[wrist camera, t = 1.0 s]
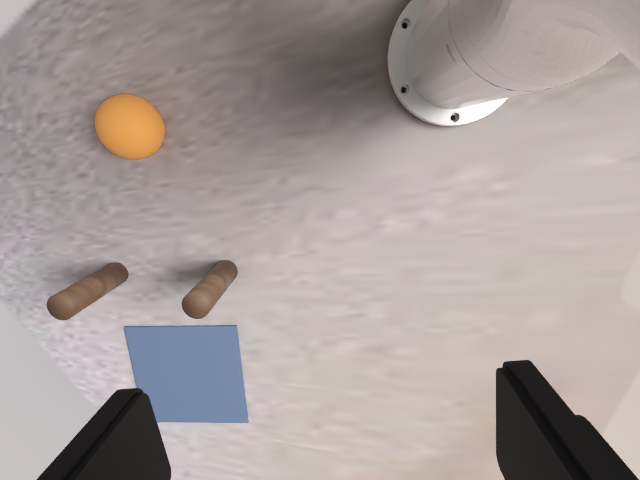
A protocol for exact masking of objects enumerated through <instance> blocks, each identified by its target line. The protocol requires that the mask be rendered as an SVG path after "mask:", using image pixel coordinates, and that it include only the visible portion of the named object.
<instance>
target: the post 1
mask: <svg viewBox="0 0 640 480" xmlns="http://www.w3.org/2000/svg"><path fill="white" fill-rule="evenodd" d="M127 278H128V271H127V269H126V268H125V267H124V266H123V265H122V264H120V263H111V264H109V265H108V266H106V267H104V268H102V269H100V270H99V271H97V272H95V273H93V274H91V275H89V276H88V277H86V278H84V279H82V280H80V281H79V282H77V283H75V284H73V285H71V286H69V287H68V288H66V289H64V290H62V291H60V292H59V293H57V294H55V295H53V296H51V297H50V298H49V299H48V301H47V309H48V311H49V313H50V314H51V315H52V316H53V317H55V318H56V319H59V320H67V319H70V318H71V317H73V316H74V315H76V314H77V313H79V312H80V311H82V310H83V309H85V308H86V307H88V306H89V305H91V304H92V303H94V302H95V301H97V300H98V299H100V298H101V297H103V296H104V295H106V294H107V293H109V292H110V291H112V290H113V289H115V288H116V287H118V286H119V285H121V284H122V283H123V282H125V281H126V280H127Z"/></svg>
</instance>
